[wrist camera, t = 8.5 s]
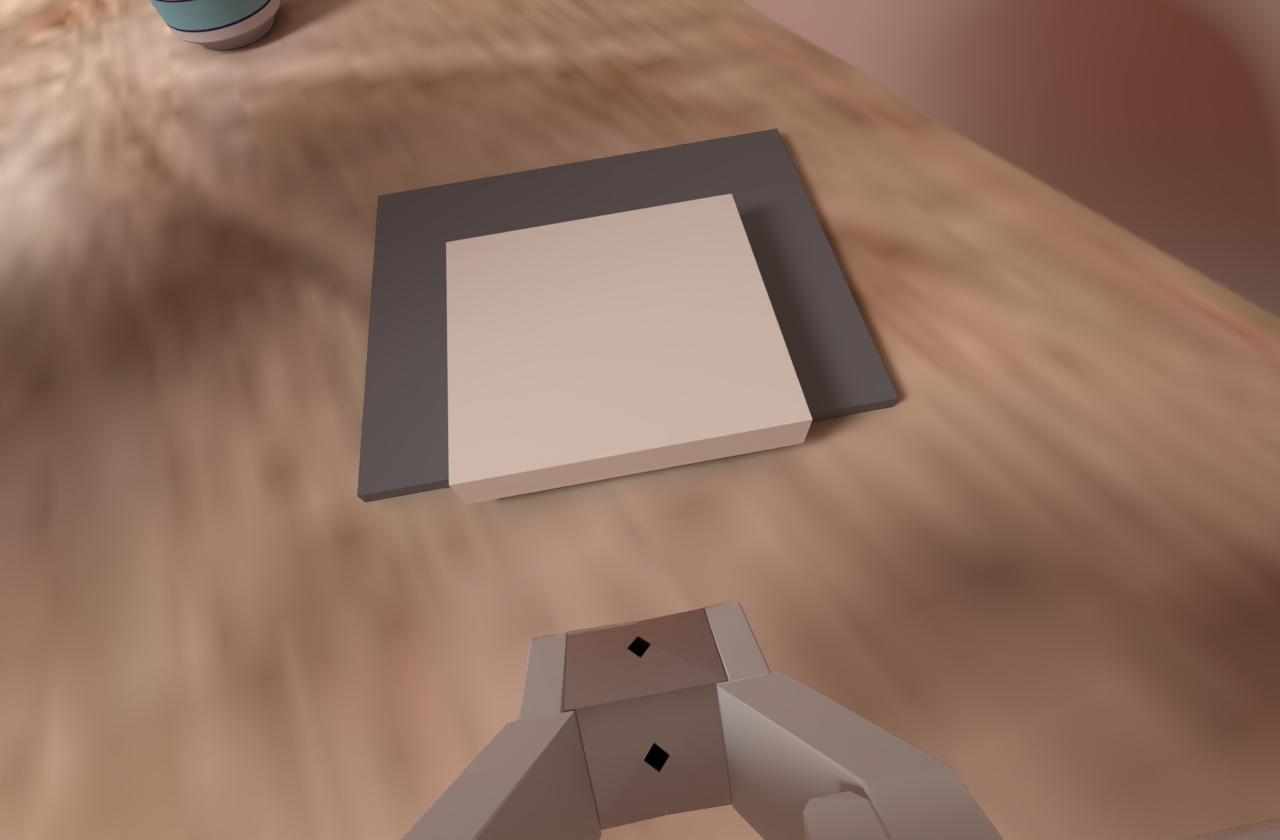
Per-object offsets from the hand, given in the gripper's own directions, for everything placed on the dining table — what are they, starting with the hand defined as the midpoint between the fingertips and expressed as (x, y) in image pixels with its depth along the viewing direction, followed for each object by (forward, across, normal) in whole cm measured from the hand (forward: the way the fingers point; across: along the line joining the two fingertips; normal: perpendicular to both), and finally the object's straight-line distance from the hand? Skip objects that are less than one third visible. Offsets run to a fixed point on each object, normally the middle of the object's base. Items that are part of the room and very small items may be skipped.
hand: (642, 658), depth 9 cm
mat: (+19, -1, -4) cm, 20 cm away
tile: (+12, -1, +1) cm, 12 cm away
